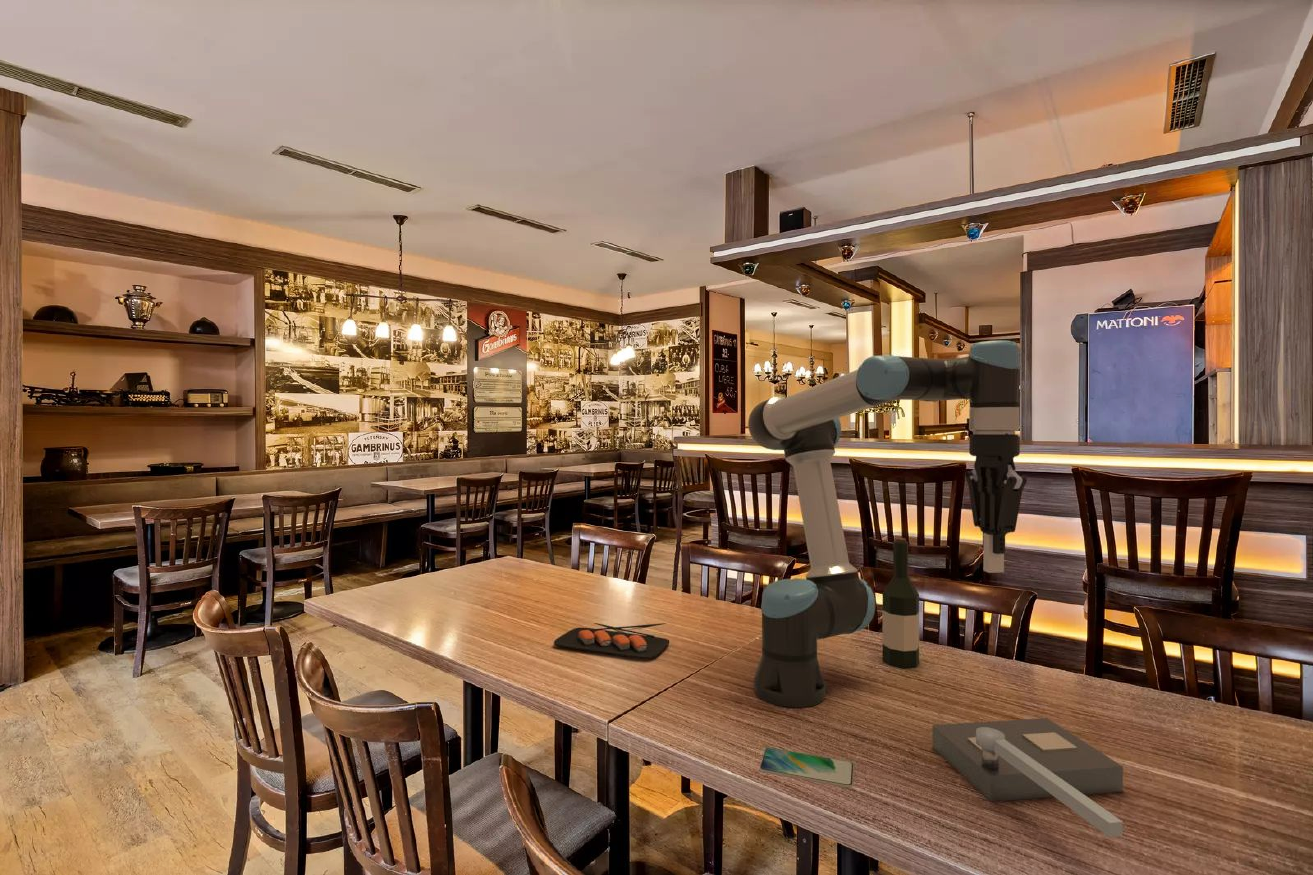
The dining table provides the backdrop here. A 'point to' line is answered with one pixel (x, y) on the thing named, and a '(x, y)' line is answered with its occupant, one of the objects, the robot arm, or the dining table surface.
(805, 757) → the smartphone
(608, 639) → the sushi plate
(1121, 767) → the grey base block
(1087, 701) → the dining table surface
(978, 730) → the lever
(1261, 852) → the dining table surface
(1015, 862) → the dining table surface
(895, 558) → the wine bottle
